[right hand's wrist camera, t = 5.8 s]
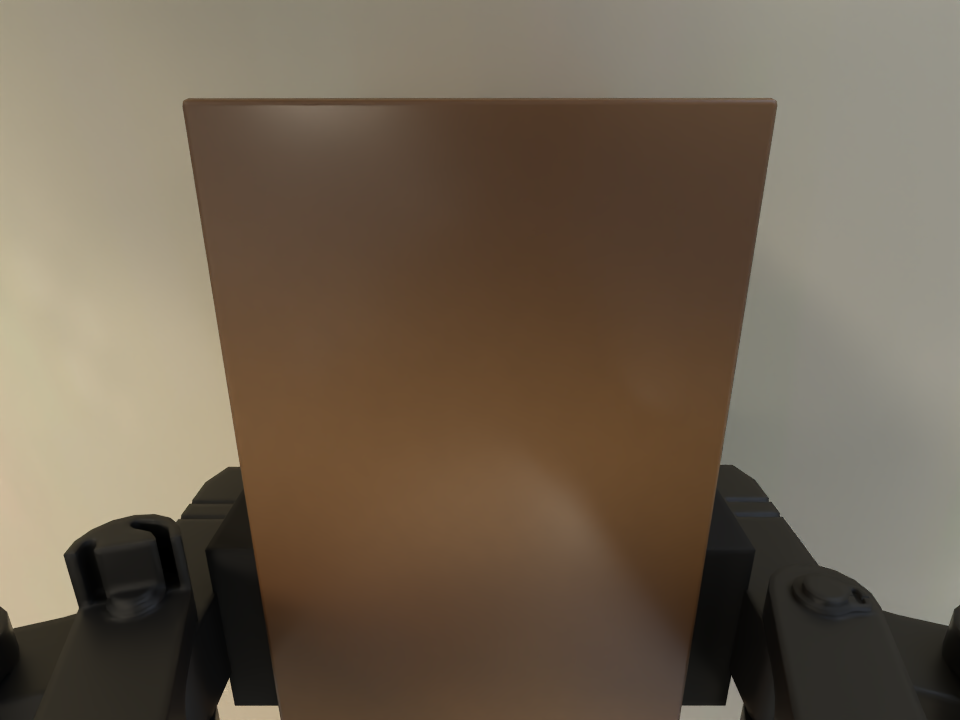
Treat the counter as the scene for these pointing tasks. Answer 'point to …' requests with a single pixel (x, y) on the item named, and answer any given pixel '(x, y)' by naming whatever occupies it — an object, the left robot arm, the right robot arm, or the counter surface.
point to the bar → (479, 388)
